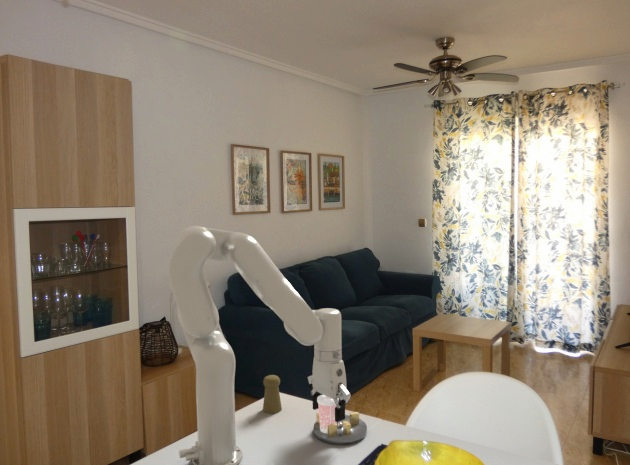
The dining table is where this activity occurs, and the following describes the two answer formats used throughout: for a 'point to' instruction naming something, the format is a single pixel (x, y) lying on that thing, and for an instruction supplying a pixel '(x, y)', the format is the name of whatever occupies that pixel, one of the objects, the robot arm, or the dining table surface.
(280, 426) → the dining table surface
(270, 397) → the cork
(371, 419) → the dining table surface
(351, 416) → the gold studded metal disc
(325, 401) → the beverage cup
